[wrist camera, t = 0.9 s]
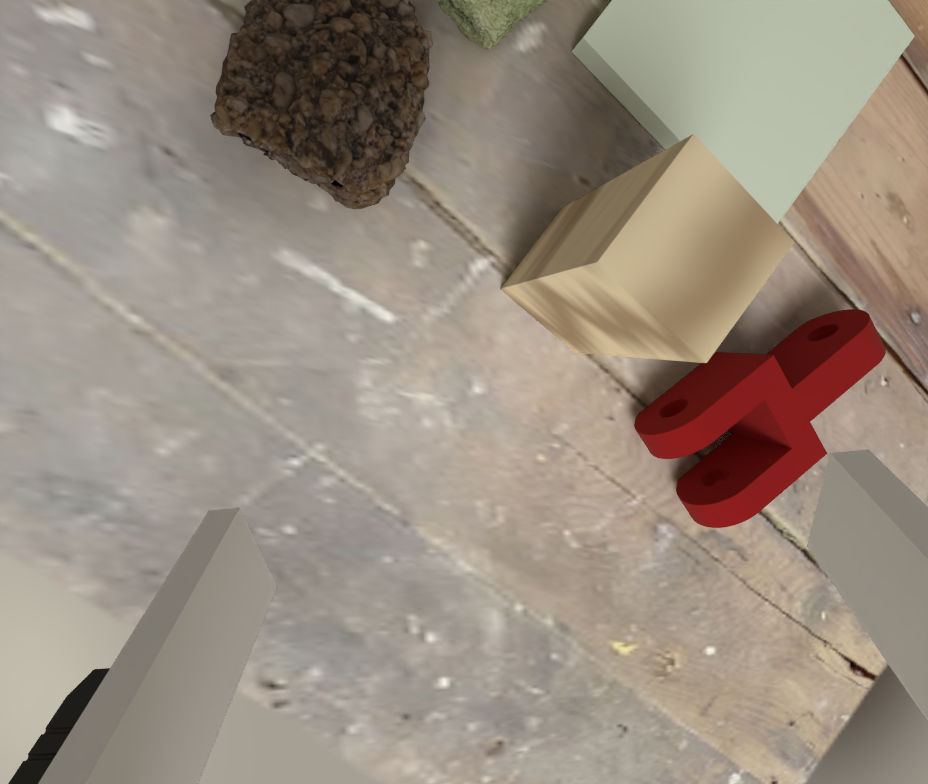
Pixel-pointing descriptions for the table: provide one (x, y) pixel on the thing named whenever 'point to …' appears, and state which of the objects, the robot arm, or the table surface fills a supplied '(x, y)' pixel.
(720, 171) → the beech block
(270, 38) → the brown rock
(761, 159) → the sage board
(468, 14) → the washcloth
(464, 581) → the table surface
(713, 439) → the mechanical linkage
